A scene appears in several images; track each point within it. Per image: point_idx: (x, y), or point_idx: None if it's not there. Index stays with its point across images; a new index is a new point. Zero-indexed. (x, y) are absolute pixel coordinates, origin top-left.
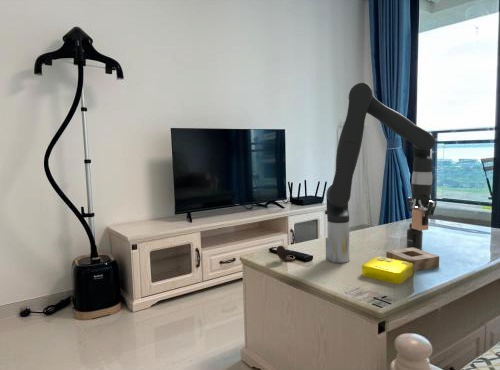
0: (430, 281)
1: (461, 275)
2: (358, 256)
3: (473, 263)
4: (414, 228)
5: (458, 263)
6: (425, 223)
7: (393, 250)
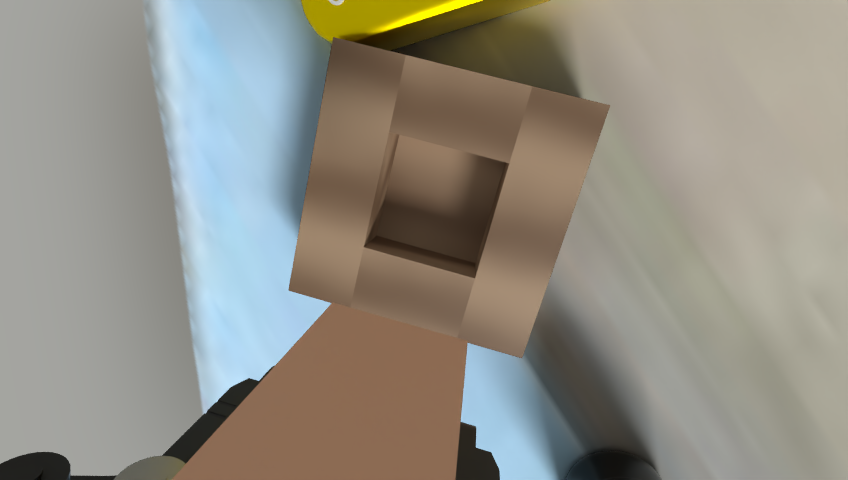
0: (205, 12)
1: (185, 236)
2: (823, 37)
3: None
4: (414, 328)
5: None
6: (233, 388)
7: (578, 171)
